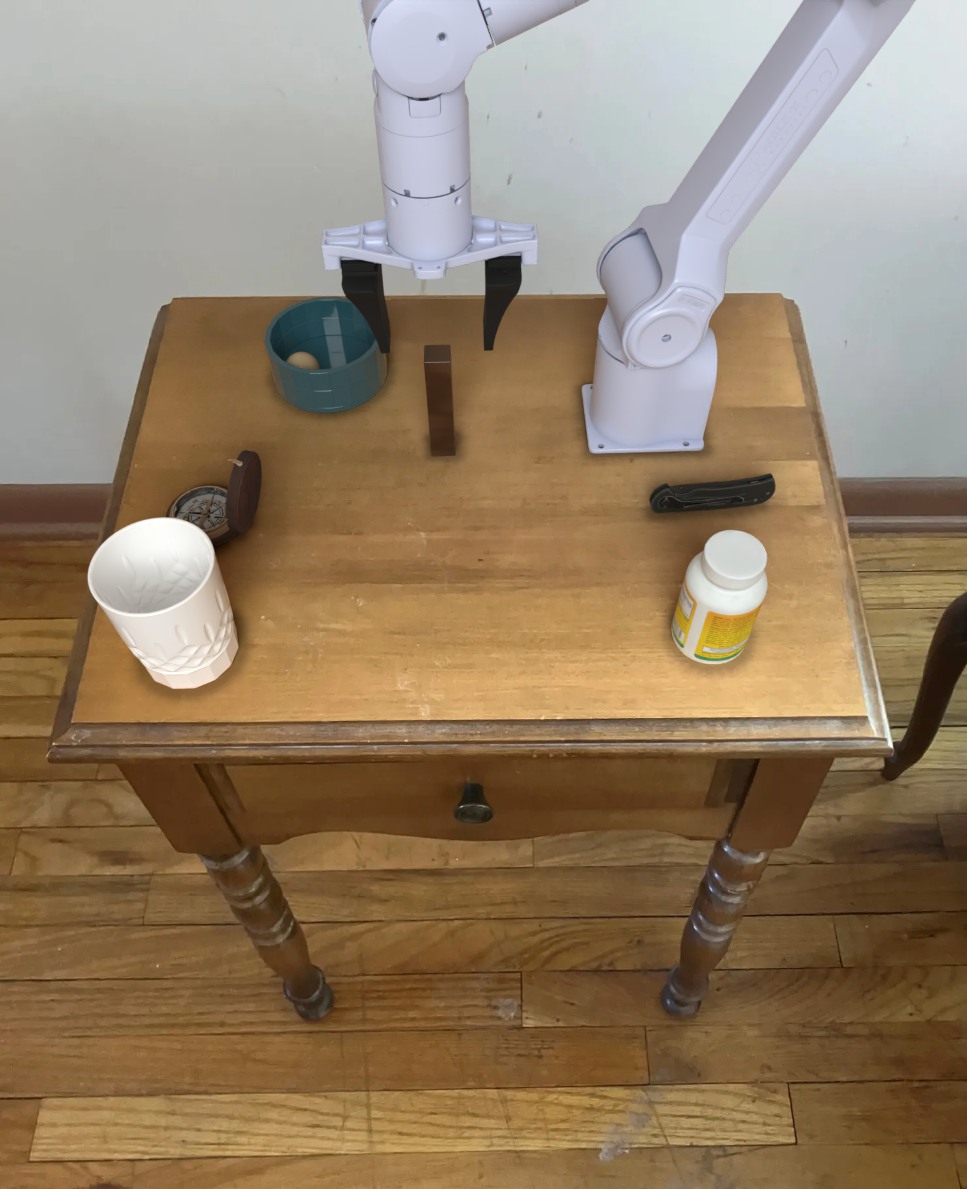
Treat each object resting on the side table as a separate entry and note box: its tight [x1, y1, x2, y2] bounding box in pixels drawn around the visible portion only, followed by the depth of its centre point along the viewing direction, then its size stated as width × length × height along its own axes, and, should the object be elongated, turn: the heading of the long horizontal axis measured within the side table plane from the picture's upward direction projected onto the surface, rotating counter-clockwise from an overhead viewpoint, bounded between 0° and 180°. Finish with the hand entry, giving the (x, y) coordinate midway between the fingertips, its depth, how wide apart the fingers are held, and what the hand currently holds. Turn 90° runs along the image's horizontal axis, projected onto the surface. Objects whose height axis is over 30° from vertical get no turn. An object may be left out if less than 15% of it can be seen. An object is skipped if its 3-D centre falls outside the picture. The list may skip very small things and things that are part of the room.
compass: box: [165, 449, 263, 548], centre depth 73 cm, size 8×8×7 cm
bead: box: [286, 352, 320, 370], centre depth 84 cm, size 3×3×3 cm
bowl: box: [263, 295, 388, 414], centre depth 84 cm, size 10×10×4 cm
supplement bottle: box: [670, 529, 769, 665], centre depth 66 cm, size 5×5×10 cm
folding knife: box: [648, 472, 777, 514], centre depth 75 cm, size 10×1×3 cm, turn 96°
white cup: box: [87, 516, 239, 690], centre depth 65 cm, size 8×8×10 cm
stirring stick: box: [423, 343, 456, 457], centre depth 77 cm, size 2×2×10 cm
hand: (436, 343), depth 73 cm, fingers open, 7 cm apart
